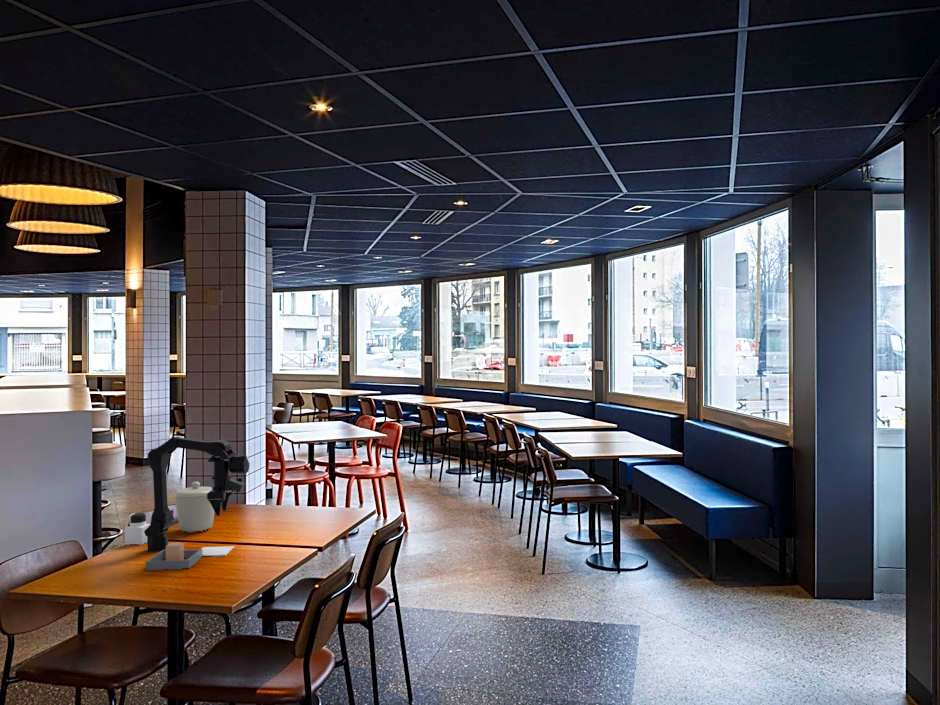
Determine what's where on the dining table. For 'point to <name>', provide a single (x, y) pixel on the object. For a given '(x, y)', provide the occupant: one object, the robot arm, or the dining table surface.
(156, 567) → the grey tray
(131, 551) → the dining table surface
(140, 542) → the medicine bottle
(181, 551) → the block
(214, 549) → the white flat square slab
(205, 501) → the canister
